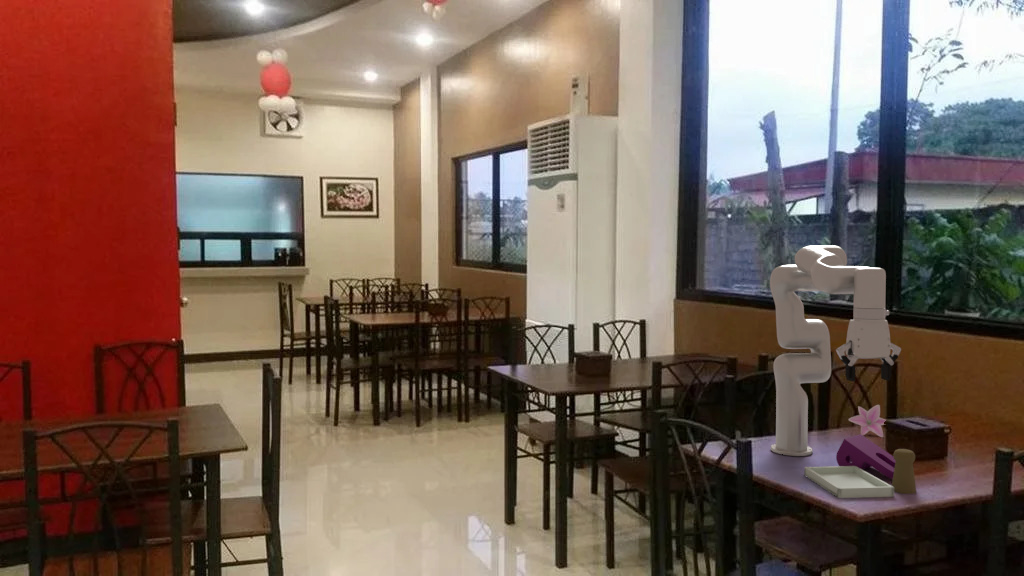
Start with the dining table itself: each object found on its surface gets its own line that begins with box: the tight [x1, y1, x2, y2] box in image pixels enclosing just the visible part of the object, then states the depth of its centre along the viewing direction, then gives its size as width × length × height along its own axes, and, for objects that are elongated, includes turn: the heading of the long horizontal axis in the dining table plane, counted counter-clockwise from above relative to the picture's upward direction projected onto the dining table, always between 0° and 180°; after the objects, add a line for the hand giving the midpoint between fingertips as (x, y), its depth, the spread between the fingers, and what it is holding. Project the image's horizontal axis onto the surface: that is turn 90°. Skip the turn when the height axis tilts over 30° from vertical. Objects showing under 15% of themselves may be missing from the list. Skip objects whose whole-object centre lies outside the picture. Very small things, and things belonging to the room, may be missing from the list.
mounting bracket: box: [835, 433, 896, 480], centre depth 220 cm, size 9×8×18 cm
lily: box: [848, 404, 887, 438], centre depth 267 cm, size 12×12×10 cm
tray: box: [803, 465, 895, 499], centre depth 208 cm, size 20×15×2 cm
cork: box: [891, 448, 917, 495], centre depth 204 cm, size 6×6×11 cm
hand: (868, 380), depth 198 cm, fingers open, 9 cm apart
